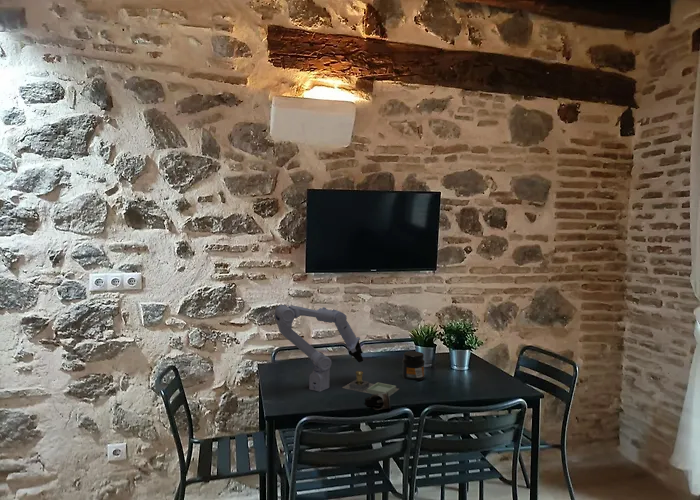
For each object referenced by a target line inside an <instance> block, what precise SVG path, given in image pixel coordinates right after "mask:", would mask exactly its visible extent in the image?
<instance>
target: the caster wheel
mask: <svg viewBox="0 0 700 500" xmlns="http://www.w3.org/2000/svg"><path fill="white" fill-rule="evenodd" d="M370 395H371V396H367V397H366V398H364V403H365V404H364V405H365V406H367V407H368V406H369V407H371V406H372V409H373V410H375V411H379V410H385V409H390V410H391V398H390V396H388V392H387V394H386V393H379V394H370ZM373 406H375V407H373ZM378 407H380V408H378Z"/></svg>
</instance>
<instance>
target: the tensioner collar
mask: <svg viewBox="0 0 700 500" xmlns="http://www.w3.org/2000/svg"><path fill="white" fill-rule="evenodd" d="M354 380H355V381H354ZM354 380H353V381H351V382H350V384H349V383H348V384H349V387H354V388H359V389H363V388H365V387H367V386H368V385H369V383H370V381H367V380H362V384H357V379H354Z"/></svg>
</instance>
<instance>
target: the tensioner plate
mask: <svg viewBox="0 0 700 500" xmlns="http://www.w3.org/2000/svg"><path fill="white" fill-rule="evenodd" d="M355 380H356V379H354V380H353V381H355ZM350 383H351V382H350ZM350 383H347V384H346V385H344V386H342V387H341V388H342V389H346V390H352V391H355V392H361V393H366V394H370V395H373V394H374V393H369V392H367V389H368V388H369V387H371V386H373V385H374V384H375V383H371V382H369V385H368V386H367V387H365V388H363V389H359V388H354V387H349V384H350ZM399 390H400V388H397V387H396V389H395V390H394V391H392V392H391V393H389V394H388V396H389V397H391V396H392V395H393V394H395V393H397V392H398V391H399Z"/></svg>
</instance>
